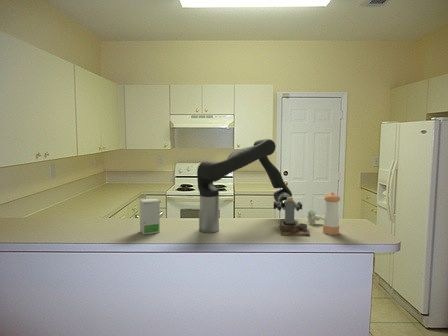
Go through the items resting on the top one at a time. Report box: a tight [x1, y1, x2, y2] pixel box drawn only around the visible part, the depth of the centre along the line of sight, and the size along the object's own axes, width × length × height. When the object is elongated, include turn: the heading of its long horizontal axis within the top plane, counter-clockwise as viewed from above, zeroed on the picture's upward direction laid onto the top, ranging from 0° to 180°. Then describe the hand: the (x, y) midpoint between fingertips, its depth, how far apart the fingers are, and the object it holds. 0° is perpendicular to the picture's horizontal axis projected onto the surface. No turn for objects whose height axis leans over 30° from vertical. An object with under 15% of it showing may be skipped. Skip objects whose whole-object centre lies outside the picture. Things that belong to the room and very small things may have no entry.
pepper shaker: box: [322, 192, 341, 236], centre depth 150 cm, size 7×7×19 cm
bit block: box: [278, 220, 311, 237], centre depth 152 cm, size 13×12×4 cm
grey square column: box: [284, 196, 296, 225], centre depth 151 cm, size 4×4×16 cm
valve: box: [307, 210, 325, 225], centre depth 164 cm, size 7×7×12 cm
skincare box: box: [139, 198, 161, 236], centre depth 151 cm, size 8×7×16 cm
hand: (289, 208), depth 155 cm, fingers open, 8 cm apart
